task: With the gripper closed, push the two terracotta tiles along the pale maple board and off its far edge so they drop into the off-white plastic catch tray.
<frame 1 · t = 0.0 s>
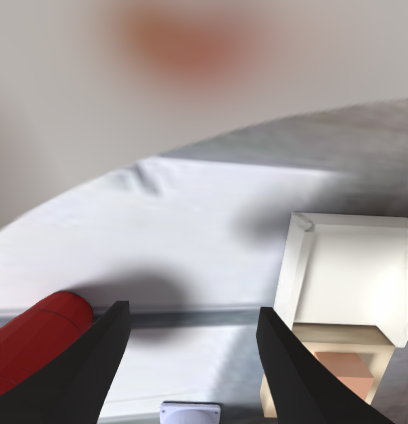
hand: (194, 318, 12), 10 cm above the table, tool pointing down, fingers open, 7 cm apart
board: (314, 362, 27), on the table
tray: (339, 276, 23), on the table
plastic cup: (70, 312, 25), on the table
tile b: (330, 367, 24), point 2 cm above the table, touching board
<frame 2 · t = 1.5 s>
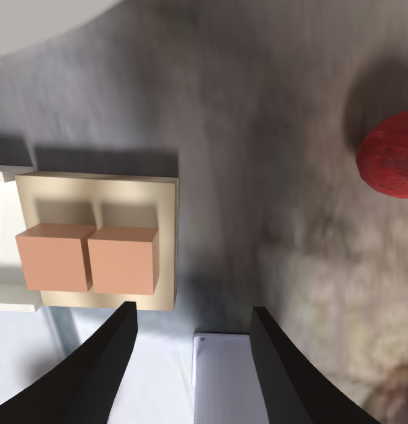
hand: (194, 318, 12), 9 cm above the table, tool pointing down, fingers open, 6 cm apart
onion: (368, 152, 18), on the table
board: (114, 237, 21), on the table
tile b: (72, 249, 18), point 2 cm above the table, touching board
tile a: (132, 251, 18), point 2 cm above the table, touching board
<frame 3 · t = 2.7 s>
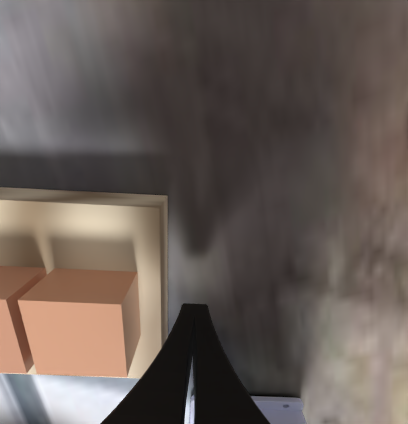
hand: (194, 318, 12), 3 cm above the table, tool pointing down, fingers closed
board: (80, 276, 15), on the table
tile b: (12, 299, 13), point 2 cm above the table, touching board
tile a: (100, 303, 13), point 2 cm above the table, touching board
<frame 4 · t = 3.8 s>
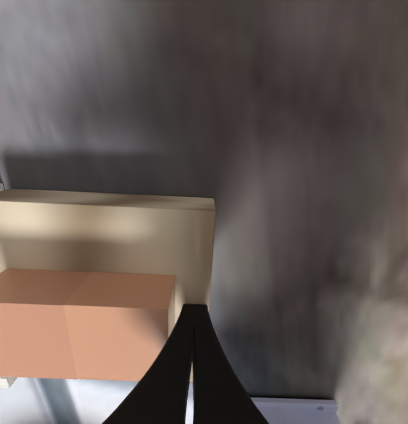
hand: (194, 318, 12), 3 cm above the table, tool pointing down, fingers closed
board: (120, 279, 15), on the table
tile b: (56, 304, 12), point 3 cm above the table, touching tile a
tile a: (135, 307, 12), point 3 cm above the table, touching gripper, tile b
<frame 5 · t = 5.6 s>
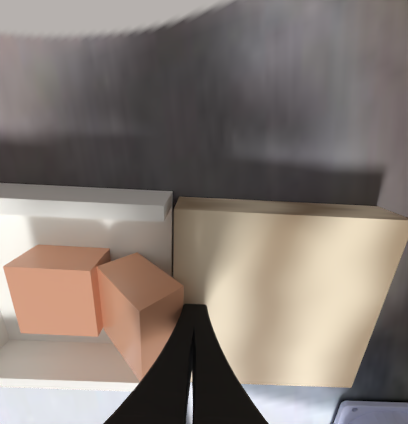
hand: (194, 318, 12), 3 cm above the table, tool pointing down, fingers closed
board: (265, 285, 15), on the table
tray: (83, 277, 15), on the table
tile b: (78, 276, 14), resting on tray, touching tile a
tile a: (158, 299, 13), point 2 cm above the table, tilted 44°, touching gripper, tile b
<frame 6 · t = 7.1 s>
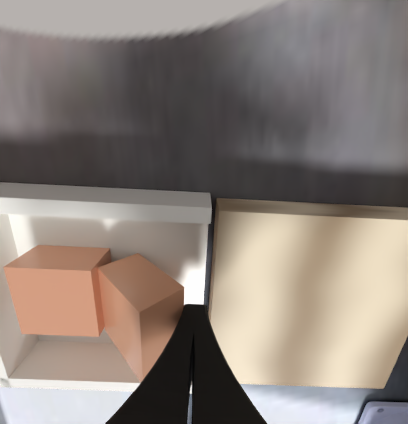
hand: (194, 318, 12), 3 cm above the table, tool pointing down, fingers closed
board: (297, 286, 15), on the table
tray: (116, 278, 15), on the table
tile b: (78, 277, 14), resting on tray, touching tile a
tile a: (159, 300, 13), point 2 cm above the table, tilted 44°, touching gripper, tile b, tray
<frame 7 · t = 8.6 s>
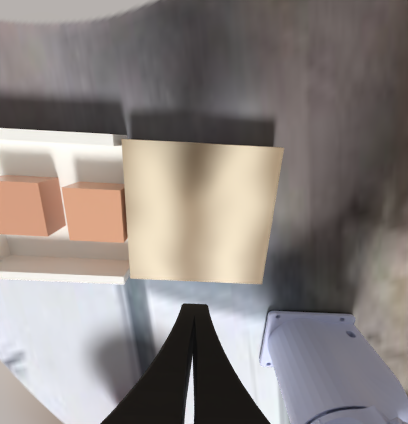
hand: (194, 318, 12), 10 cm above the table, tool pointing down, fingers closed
board: (199, 210, 20), on the table
tray: (65, 203, 20), on the table
tile b: (37, 201, 20), resting on tray
tile a: (107, 207, 20), resting on tray
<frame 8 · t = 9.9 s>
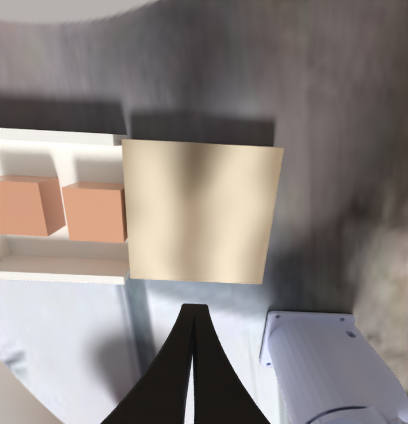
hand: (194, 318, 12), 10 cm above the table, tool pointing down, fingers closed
board: (199, 210, 20), on the table
tray: (65, 203, 20), on the table
tile b: (37, 201, 20), resting on tray
tile a: (107, 207, 20), resting on tray
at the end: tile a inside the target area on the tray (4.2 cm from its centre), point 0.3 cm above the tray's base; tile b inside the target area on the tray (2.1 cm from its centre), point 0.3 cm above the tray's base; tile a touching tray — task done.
